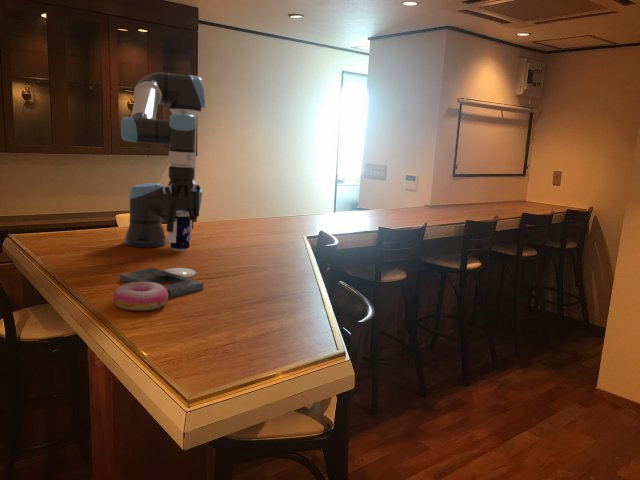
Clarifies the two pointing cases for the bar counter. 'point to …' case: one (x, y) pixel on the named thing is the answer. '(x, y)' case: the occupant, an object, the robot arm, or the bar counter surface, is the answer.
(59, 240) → the bar counter surface
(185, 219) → the beverage can
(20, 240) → the bar counter surface
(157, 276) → the grey board with hole
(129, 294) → the donut
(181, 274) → the coaster
